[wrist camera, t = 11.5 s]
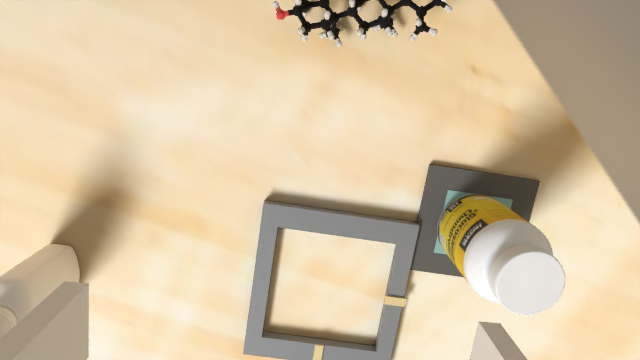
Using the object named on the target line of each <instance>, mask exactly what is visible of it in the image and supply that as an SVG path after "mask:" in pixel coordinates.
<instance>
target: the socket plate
mask: <svg viewBox="0 0 640 360" xmlns="http://www.w3.org/2000/svg"><path fill="white" fill-rule="evenodd" d="M278 227H280V228H287V229H294V230H301V231H308V232H315V233H322V234H329V235H337V236H344V237H351V238H358V239H365V240H372V241H379V242H386V243H393V244H396V246H395V251H394V256H393V261H392V266H391V271H390V275H389V280H388V285H387V290H386V295H385V299H384V304H383V309H382V314H381V319H380V324H379V328H378V333H377V338H376V343H375V346H373V345H365V344H357V343H349V342H342V341H334V340H326V339H318V338H310V337H302V336H295V335H287V334H279V333H271V332H263V326H264V319H265V312H266V305H267V298H268V291H269V284H270V278H271V271H272V264H273V257H274V250H275V243H276V236H277V229H278ZM418 231H419V224H418V223H417V222H412V221H405V220H398V219H391V218H384V217H377V216H371V215H364V214H357V213H350V212H343V211H336V210H329V209H322V208H315V207H308V206H302V205H295V204H288V203H281V202H274V201H267V200H265V201H264V205H263V212H262V219H261V227H260V234H259V241H258V249H257V256H256V263H255V271H254V278H253V286H252V293H251V300H250V308H249V315H248V322H247V330H246V337H245V344H244V352H243V354H247V355H255V356H263V357H271V358H279V359H287V360H391V355H392V351H393V346H394V341H395V337H396V332H397V328H398V323H399V318H400V314H401V309H402V307H405V306H406V302H407V298H404V295H405V291H406V286H407V281H408V277H409V272H410V268H411V263H412V258H413V254H414V249H415V245H416V240H417V235H418Z"/></svg>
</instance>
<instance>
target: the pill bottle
mask: <svg viewBox="0 0 640 360" xmlns="http://www.w3.org/2000/svg"><path fill="white" fill-rule="evenodd" d="M437 234H438V239H439V242H440V244H441V246H442V248H443V250H444V251H445V252H446V254H447V255H448V256H449V258H450V259H451V260H452V262H453V263H454V264H455V266H456V267H457V268H458V270H459V271H460V272H461V274H462V275H463V276H464V278H465V279H466V280H467V282H468V283H469V284H470V286H471V287H472V288H473V289H474V290H475V291H476V292H477V293H478V294H479V295H481V296H482V297H484V298H486V299H488V300H490V301H493V302H497V303H501V304H502V305H503V306H504V307H505V308H506V309H507V310H509V311H511V312H513V313H516V314H519V315H535V314H538V313H541V312H543V311H545V310H547V309H549V308H550V307H551V306H553V305H554V304H555V303H556V301H557V300H558V299H559V298H560V296H561V294H562V292H563V289H564V286H565V274H564V270H563V268H562V266H561V264H560V263H559V261H558V260H557V259H556V258H555V257H554V256H553V252H552V248H551V245H550V243H549V241H548V239H547V238H546V236H545V235H544V234H543V233H542V232H541V231H540V230H539V229H538V228H536V227H535V226H534V225H532V224H531V223H529V222H528V221H526V220H525V219H523V218H522V217H520V216H519V215H517V214H516V213H515V212H513V211H512V210H510V209H509V208H507V207H506V206H504V205H503V204H501V203H500V202H499V201H497V200H495V199H494V198H492V197H490V196H487V195H483V194H468V195H464V196H461V197H459V198H457V199H456V200H454V201H452V202H451V203H450V204H449V205H448V206H447V207H446V208H445V209H444V211H443V212H442V214H441V216H440V218H439V221H438V227H437Z"/></svg>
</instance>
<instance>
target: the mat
mask: <svg viewBox="0 0 640 360" xmlns="http://www.w3.org/2000/svg"><path fill="white" fill-rule="evenodd" d="M539 182H540V181H538V180H532V179H525V178H519V177H512V176H506V175H499V174H493V173H486V172H479V171H473V170H466V169H460V168H453V167H447V166H440V165H434V164H429V169H428V173H427V178H426V183H425V187H424V192H423V197H422V201H421V206H420V211H419V215H418V220H417V223H418V224H419V231H418V235H417V240H416V245H415V249H414V254H413V258H412V263H411V268H410V270H417V271H424V272H431V273H438V274H446V275H453V276H460V277H464V276H463V275H462V274H461V272H460V271H459V270H458V268H457V267H456V266H455V264H454V263H453V262H452V260H451V259H450V258H449V256H448V255H447V254H446V252H445V251H444V250H443V248H442V246H441V244H440V242H439V239H438V234H437V227H438V221H439V218H440V216H441V214H442V212H443V211H444V209H445V208H446V207H447V206H448V205H449V204H450V203H451V202H452V201H454V200H456V199H457V198H459V197H461V196H464V195H468V194H483V195H487V196H490V197H492V198H494V199H495V200H497V201H499V202H500V203H501V204H503V205H504V206H506V207H507V208H509V209H510V210H512V211H513V212H515V213H516V214H517V215H519V216H520V217H522V218H523V219H525V220H526V221H528V222H529V219H530V215H531V212H532V208H533V204H534V201H535V197H536V193H537V190H538V186H539Z"/></svg>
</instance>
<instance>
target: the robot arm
mask: <svg viewBox="0 0 640 360" xmlns="http://www.w3.org/2000/svg"><path fill="white" fill-rule="evenodd" d="M88 311H89V283H79V282H68V281H64V282H63V283H62V284H61V285H60V286H59V287H57V288H56V289H55V290H54V291H53V292H52V293H51V294H50V295H49V296H47V297H46V298H45V299H44V300H43V301H42V302H41V303H40V304H39V305H37V306H36V307H35V308H34V309H33V310H32V311H31V312H30V313H28V314H27V315H26V316H25V317H24V318H23V319H22V320H21V321H20V322H18V323H17V324H16V325H15V326H14V327H13V328H12V329H11V330H10V331H8V332H7V333H6V334H5V335H4V336H3V337H2V338H1V339H0V360H86V359H87V358H88ZM470 360H527V359H526V357H525V356H524V355H523V353H522V352H521V351H520V349H519V348H518V347H517V345H516V344H515V343H514V341H513V340H512V339H511V337H510V336H509V335H508V333H507V332H506V331H505V329H504V328H503V327H502V325H501V324H499V323H489V322H478V326H477V331H476V335H475V339H474V343H473V348H472V352H471V356H470Z"/></svg>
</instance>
